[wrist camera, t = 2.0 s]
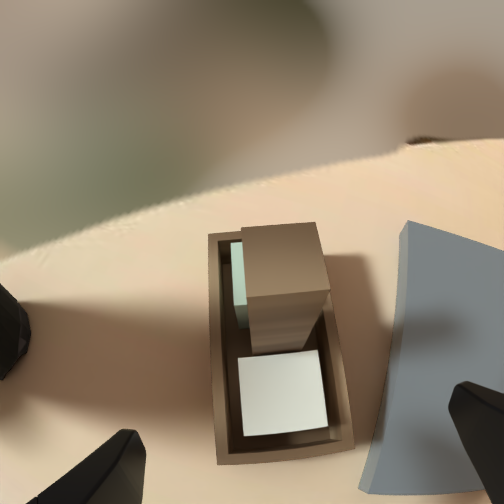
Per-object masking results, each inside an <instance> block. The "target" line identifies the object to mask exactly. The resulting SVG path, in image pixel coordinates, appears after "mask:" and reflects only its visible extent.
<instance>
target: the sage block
mask: <svg viewBox="0 0 504 504" xmlns="http://www.w3.org/2000/svg"><path fill="white" fill-rule="evenodd" d="M231 260H232V278H233V296H234V308H235V312H236V317H237V322H238V326H239V329H246V328H250V326H249V318H248V309H247V300H246V288H245V275H244V262H243V249H242V242H237V243H231Z"/></svg>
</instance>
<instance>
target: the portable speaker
mask: <svg viewBox="0 0 504 504" xmlns="http://www.w3.org/2000/svg"><path fill="white" fill-rule="evenodd" d="M30 336H31V330H30V326H29V321H28V316H27V313H26V312H25V311H24V309H23V308H22V307H21V306H20V304H19V303H17V300H16V299H15V298H14V297H13V296H12V295H11V294H10V293H9V292H8V291H7V290H6V289H5V288H4V287H3V286H2V285H1V284H0V380H3V379H4V376H5V374H6V373H7V372H8V371H9V370H10V369H11V367H12V366H13V365H14V363H15V362H16V361H17V359H18V358H19V356H21V355H23V354H24V353H26V352H27V349H28V344H29V340H30Z"/></svg>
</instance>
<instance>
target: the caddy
mask: <svg viewBox="0 0 504 504" xmlns="http://www.w3.org/2000/svg"><path fill="white" fill-rule="evenodd" d="M237 242H242V249H243V262H244V275H245V288H246V300H247V309H248V318H249V326H250V328H246V329H239V326H238V322H237V317H236V312H235V308H234V296H233V278H232V260H231V243H237ZM208 274H209V324H210V354H211V377H212V396H213V413H214V429H215V443H216V456H217V465H239V464H256V463H268V462H278V461H287V460H295V459H302V458H309V457H315V456H321V455H327V454H332V453H337V452H342V451H347V450H351V449H355V444H354V436H353V428H352V420H351V412H350V405H349V398H348V391H347V385H346V378H345V372H344V366H343V360H342V354H341V348H340V342H339V337H338V331H337V326H336V321H335V316H334V310H333V305H332V300H331V296H330V290H331V288H330V283H329V279H328V274H327V270H326V265H325V261H324V256H323V252H322V248H321V243H320V239H319V235H318V231H317V227H316V223H315V222H308V223H294V224H280V225H267V226H254V227H242V228H241V231H237V232H225V233H213V234H208ZM313 350H318V356H319V363H320V370H321V377H322V384H323V392H324V399H325V407H326V415H327V423H328V426H326V427H320V428H314V429H307V430H300V431H293V432H285V433H276V434H265V435H253V436H244V432H243V419H242V407H241V394H240V380H239V366H238V358H245V357H257V356H268V355H278V354H288V353H297V352H305V351H313Z"/></svg>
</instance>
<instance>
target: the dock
mask: <svg viewBox="0 0 504 504" xmlns="http://www.w3.org/2000/svg"><path fill="white" fill-rule="evenodd" d="M463 381H470V382H473V383H475V384H478V385H481V386H484V387H487V388H489V389H492V390H495V391H498V392H501V393H504V251H502V250H499V249H497V248H494V247H491V246H488V245H485V244H482V243H479V242H476V241H473V240H470V239H467V238H464V237H461V236H458V235H455V234H452V233H449V232H446V231H442V230H439V229H436V228H433V227H429V226H426V225H423V224H419V223H416V222H412V221H409V220H408V221H407V223H406V224H405V226H404V228H403V230H402V231H401V233H400V242H399V268H398V285H397V298H396V309H395V318H394V327H393V335H392V343H391V350H390V357H389V363H388V369H387V375H386V380H385V386H384V391H383V396H382V401H381V406H380V410H379V415H378V419H377V423H376V427H375V432H374V435H373V439H372V443H371V447H370V451H369V454H368V458H367V461H366V464H365V468H364V471H363V474H362V477H361V481H360V484H359V487H358V489H360V490H362V491H364V492H365V493H367V494H379V495H436V494H450V493H461V492H470V491H478V490H484V489H485V488H484V486H483V484H482V482H481V480H480V478H479V476H478V474H477V472H476V470H475V468H474V466H473V464H472V462H471V460H470V459H469V457H468V455H467V453H466V451H465V449H464V447H463V444H462V442H461V440H460V437H459V435H458V432H457V430H456V428H455V425H454V423H453V420H452V418H451V416H450V414H449V411H448V404H449V401H450V398H451V395H452V392H453V389H454V387H455V385H456V384H458V383H461V382H463Z"/></svg>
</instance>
